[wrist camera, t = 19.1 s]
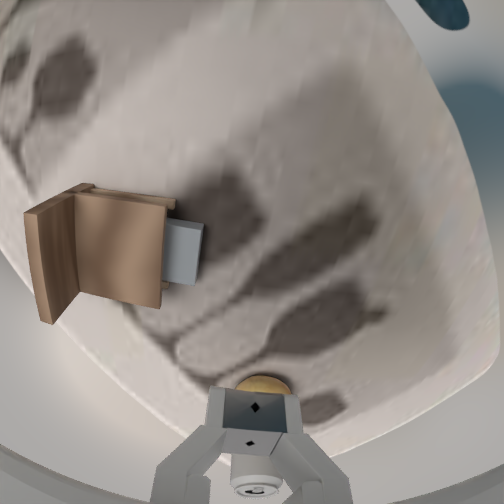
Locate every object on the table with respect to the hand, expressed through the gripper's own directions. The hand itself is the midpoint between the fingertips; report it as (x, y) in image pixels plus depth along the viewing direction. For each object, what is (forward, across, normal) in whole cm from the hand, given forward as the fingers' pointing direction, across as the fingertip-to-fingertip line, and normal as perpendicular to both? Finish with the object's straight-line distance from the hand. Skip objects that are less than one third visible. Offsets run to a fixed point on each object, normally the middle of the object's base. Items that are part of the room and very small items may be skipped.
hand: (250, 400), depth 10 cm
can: (+20, -7, +36) cm, 42 cm away
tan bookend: (+21, +12, +5) cm, 25 cm away
